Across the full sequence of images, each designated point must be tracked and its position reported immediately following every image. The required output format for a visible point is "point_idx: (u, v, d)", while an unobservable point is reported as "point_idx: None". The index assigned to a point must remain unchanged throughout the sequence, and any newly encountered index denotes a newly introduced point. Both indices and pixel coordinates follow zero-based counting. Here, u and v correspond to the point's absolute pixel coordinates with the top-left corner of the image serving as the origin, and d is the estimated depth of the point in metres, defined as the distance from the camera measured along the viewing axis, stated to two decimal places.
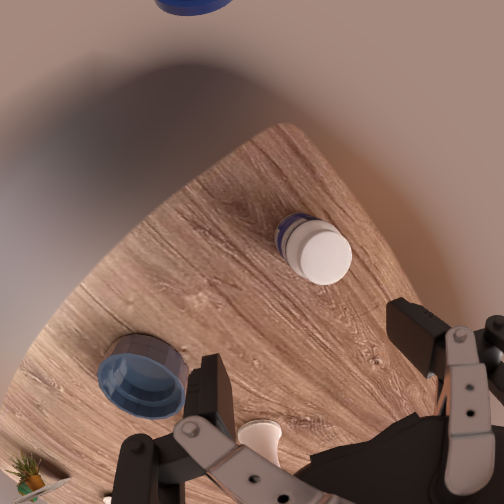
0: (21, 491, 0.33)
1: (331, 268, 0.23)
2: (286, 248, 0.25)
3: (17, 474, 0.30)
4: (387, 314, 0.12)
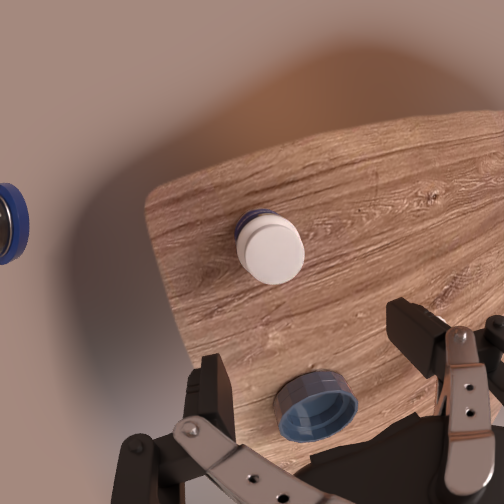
0: None
1: (287, 255, 0.21)
2: None
3: None
4: (387, 314, 0.12)
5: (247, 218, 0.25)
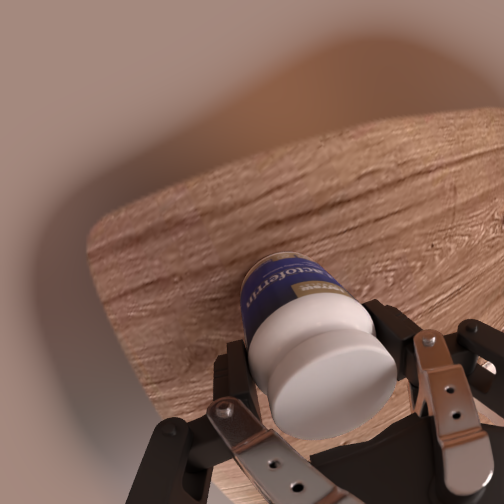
0: None
1: (364, 394, 0.08)
2: None
3: None
4: None
5: (267, 289, 0.12)
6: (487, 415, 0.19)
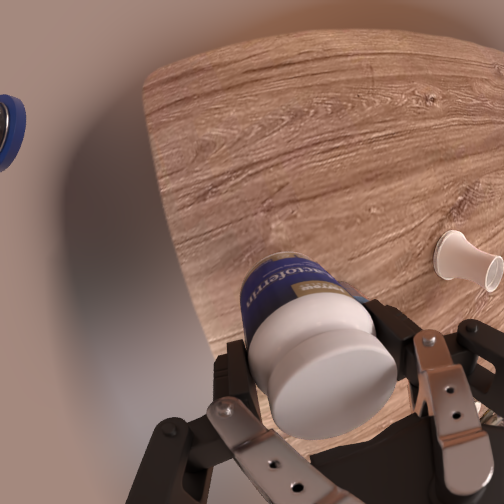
0: None
1: (364, 393, 0.08)
2: None
3: None
4: None
5: (267, 288, 0.12)
6: (464, 272, 0.28)
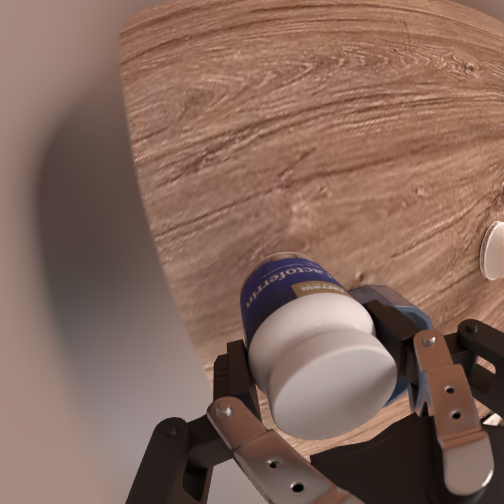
0: None
1: (364, 394, 0.08)
2: None
3: None
4: None
5: (267, 289, 0.12)
6: None
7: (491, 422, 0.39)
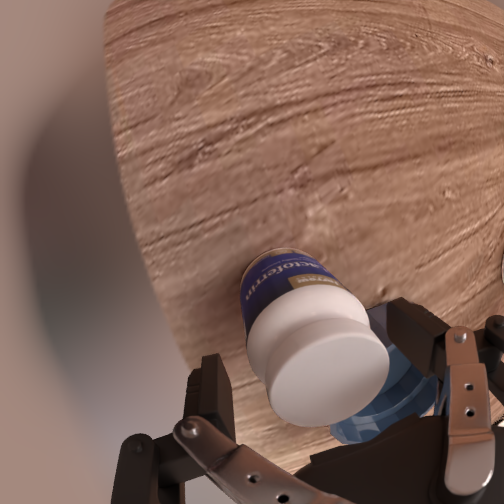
0: None
1: (358, 381, 0.09)
2: None
3: None
4: (387, 314, 0.12)
5: (266, 282, 0.13)
6: None
7: None
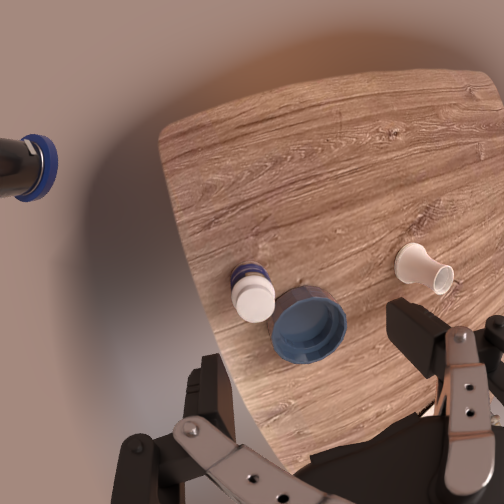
0: None
1: (263, 304, 0.33)
2: None
3: None
4: (387, 314, 0.12)
5: (238, 274, 0.37)
6: (418, 278, 0.39)
7: None
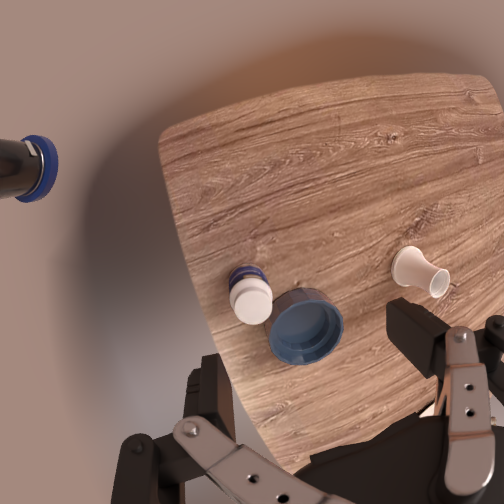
0: None
1: (261, 307, 0.33)
2: None
3: None
4: (387, 314, 0.12)
5: (236, 277, 0.37)
6: (415, 281, 0.40)
7: None
